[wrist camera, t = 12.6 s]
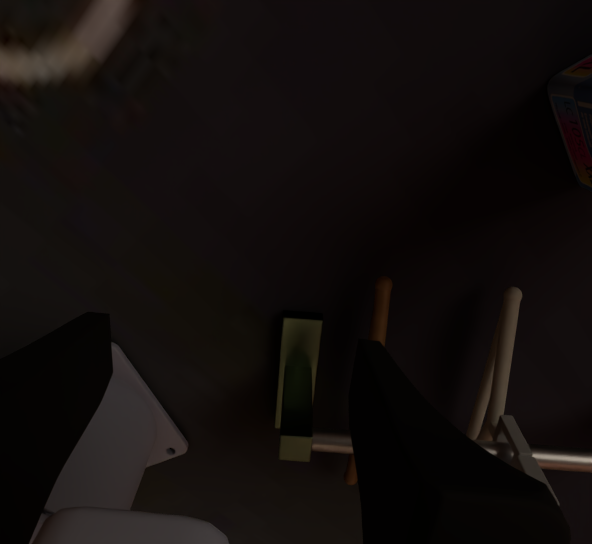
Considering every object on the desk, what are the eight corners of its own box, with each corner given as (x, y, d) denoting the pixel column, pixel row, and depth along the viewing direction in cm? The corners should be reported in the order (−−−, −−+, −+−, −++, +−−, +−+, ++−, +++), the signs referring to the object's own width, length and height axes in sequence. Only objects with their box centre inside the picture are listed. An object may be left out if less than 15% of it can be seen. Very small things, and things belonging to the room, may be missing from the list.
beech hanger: (356, 477, 30) (372, 618, 22) (342, 476, 29) (353, 616, 22) (392, 273, 24) (427, 374, 17) (375, 272, 24) (403, 372, 17)
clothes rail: (644, 447, 29) (718, 539, 24) (274, 418, 29) (267, 505, 24) (693, 342, 27) (791, 421, 21) (283, 309, 26) (277, 381, 21)
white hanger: (461, 485, 30) (509, 627, 23) (447, 484, 30) (491, 626, 22) (520, 284, 24) (608, 389, 17) (503, 283, 24) (584, 386, 17)
